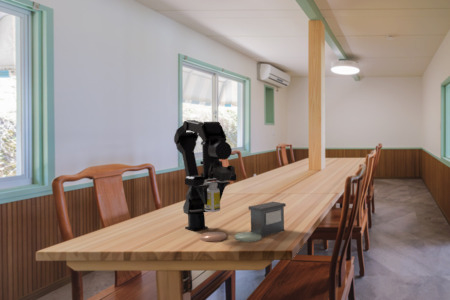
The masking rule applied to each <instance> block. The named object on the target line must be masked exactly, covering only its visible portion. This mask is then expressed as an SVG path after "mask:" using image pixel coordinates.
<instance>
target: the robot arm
mask: <svg viewBox="0 0 450 300" xmlns="http://www.w3.org/2000/svg"><path fill="white" fill-rule="evenodd" d="M198 138H201V140H202V141H201V143H200V145H201V146H202V147H201V148H202V160H200V165H202V172H201V173H200V175H199V171H198V165H197V161H196V156H195V149H196V146H197V141H198ZM173 141H174V144H175V145H176V149H177V151H178V152H179V153H180V154H181V155H182V159H183V166H184V171H185V175H186V176H185V178H184V185H186V186H187V187H188V190H187V192H186V195H185V201H184V203H183V207H182V209H183V213H184V214H185V215H187V219H188V221H187V222H188V223H187V225H188V226H185V227H184V229H186V230H189V231H193V232H196V231H200V230H205V229H208V228H209V226H208V225H207V226H206V217H205V213H208V212H207V211H205V205H207V189H208V187H209V185H207V182H217V188H218V189H219V190H220V201H221V200H222V197H223V193H224V191H225V188H226V187H227V186H228V185H229V184H231V182H234V181H237V174H236V170H235V166H234V165H232V164H231V165H227V166H223V161H222V160H228V159H229V158H230V157H231V156H232V152H233V151H232V150H233V149H232V147H231V145H230V144H229V143H228V142H227V134H226V133H225V131H224V128H223V125H221V123H220V121H198V120H195V119H194V120H193V119H192V120H191V119H188V120H187V119H186V120H184V121H183V123H182V125H181V126H180V127H179V128H177V129H176V130H175V134H174V136H173Z"/></svg>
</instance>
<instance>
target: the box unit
mask: <svg viewBox="0 0 450 300" xmlns="http://www.w3.org/2000/svg"><path fill="white" fill-rule="evenodd" d="M286 206H287V205H286V203H284V202H277V201H270V202H265V203H259V204H256V205H251V206H248V210H249V211H250V232H253V233H258V234H261V238H265V237H268V236H271V235H273V234H274V235H275V234H277V233H282V232H284V231H285V215H284V214H285V213H284V212H285V210H284V208H285V207H286Z"/></svg>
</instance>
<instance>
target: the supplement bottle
mask: <svg viewBox="0 0 450 300" xmlns="http://www.w3.org/2000/svg"><path fill="white" fill-rule="evenodd" d="M207 185H209V187H208V189H207V205H205V211H207V212H206V213H216V212H217V213H218V212H220V211H221V200H220V190H219V189H218V188H217V182H215V181H209V182H207Z"/></svg>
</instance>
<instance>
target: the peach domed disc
mask: <svg viewBox="0 0 450 300" xmlns="http://www.w3.org/2000/svg"><path fill="white" fill-rule="evenodd" d="M199 237H200V240H201V241H202V242H203V241H204V242H208V243H209V242H211V243H213V242H214V243H215V242H220V241H224V240H226V239H227V233H225V232H223V231H222V232H220V231H208V232H207V231H206V232H204V233H201V234H200V236H199Z"/></svg>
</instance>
